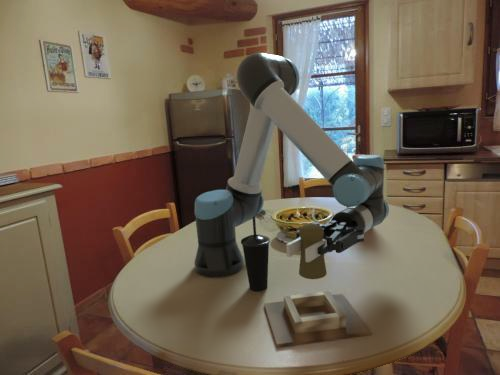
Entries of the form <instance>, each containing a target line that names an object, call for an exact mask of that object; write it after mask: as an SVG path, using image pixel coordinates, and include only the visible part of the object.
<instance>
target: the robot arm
mask: <svg viewBox="0 0 500 375" xmlns="http://www.w3.org/2000/svg"><path fill="white" fill-rule="evenodd" d="M236 82H237V86H238V88H239V91H240V92H241V94H242V95H243V96H244V98H245V99H246V100H247V101H248V102H249V103H250V105H251V106H250V110H249V114H248V118H247V122H246V126H245V130H244V133H243V134H244V135H243V138H242V142H241V146H240V150H239V155H238V157H237V158H238V159H237V162H236V166H235V170H234V174H233V176H232V177H230V178H228V179H227V184H226V188H225V189H214V190H211V191H206V192H204V193H201V194H200V195H198V196H197V197H196V198H195V200H194V211H193V212H194V218H195V226H196V236H197V244H198V245H197V246H198V247H197V251H196V255H195V259H194V271H195V272H196V274H198V276H201V277H205V278H206V277H207V278H223V277H228V276H232V275H235V274H237V273H238V272H240V271H241V270H242V269H243V267H244V257H243V255H242V251H241V250H240V248H239V245H238V242H237V238H236V236H237V233H236V228H237V227H239V226H240V225H243V224H245V223H247V222H248V221H250V220H253V217H255V218H256V217H257V216H258V215H260V214H259V213H260V211H261V210H262V209H263V207H264V200H265V199H264V196H263V193H262V191H263V187H262V185H261V183H260V181H261V178H262V175H263V171H264V168H265V164H266V160H267V158H268V153H269V150H270V146H271V143H272V140H273V137H274V136H273V135H274V131H275V128H276V127H277V128H278V129H279V130H280V131H281V132H282V134H284V135H285V137H286V138H288V140H289V141H290V142H291V143H292V144H293V145H294V146H295V147H296V149H298V151H299V152H300V153H301V154H302V155H303V156H304V157H305V158H306V159H307V160H308V161H309V162H310V163H311V165H313V167H314V168H315V169H316V170H317V172H319V173H320V175H322V177H324V178H323V179H325V180H326V181H327V182H328V183H329V185H331V186H332V192H333V193H332V194H333V197H334V198H335V201H337V203H339V205H342V206H344V207H345V208H344V209H342V210H340V211H338V212H336V213H335V214H334V215H332V216H333V217H332V218H331V220H330V221H326V222H324V224H321V223H320V222H319V221H318V220H314V221H313V222H311V224H317V225H320V226H321V227H322V228H323V231H324V236H323V239H322V240H321V241H319V242H317V243H315V244H313V245H312V246H310V247H308V248H306V249H305V260H306V262H310V261H312V260H314V259H315V258H317V257H318V256H320V255H324V256H325V255H326V254H327V253H332V252H334V251H335V252H336V253H337V254H342V252H345V251H347V249H349V248H351V247H353V246H354V245H356V244H358V243H361V242H364V241H365V233H367V232H368V231H369V230H371V229H372V228H374V227H376V226H378V225H380V224H382V223H383V221H384V220H385V219H386V218H387V217H388V216H389V213H390V207H389V204H388V202H387V201H386V200H385V199H384V181H385V180H384V179H385V166H384V165H385V164H384V158H383V157H382V156H381V155H378V154H377V155H375V154H364V155H361V156H357V157H355V159H354V162H353V159H352V158H350V157H349V155H347V153H345V151H344V150H343V149H342V148H341V147H340V146H339V145H338V144H337V143H336V142H335V141H334V140H333V139H332V138H331V137H330V136H329V135H328V133H327V132H326V131H325V130H324V129H323V128H322V127H321V126H320V125H319V124H318V123H317V122H316V121H315V120H314V118H312V117H311V116H310V115H309V114H308V113H307V112H306V110H305V109H304V108H303V107H302V106H301V105H300V104H299V103H298V102H297V101H296V100H295V99H294V98H293V97H292V96H293V94H295V92H296V91H297V89H298V88H299V83H300V74H299V69H298V67H297V65H295V63H294V62H293V61H292V60H290V59H289V58H286V57H284V56H282V55H276V54H268V53H266V52H254V53H250V54H249V55H247V56H246V57H244V58H243V59H242V60H241V62H240V63H239V65H238V67H237V70H236ZM347 207H348V208H347ZM299 231H300V229H299V230H297V231H296V233H295V234H296V236H295V237H296V238H295V239H294V240H291V241H290V242H288V243H286V244H285V245H286V257H288V258H291V257H293V256H294V255H296V254H298V253H301V247H302V240H301V238H300V235H299Z"/></svg>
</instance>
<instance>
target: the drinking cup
mask: <svg viewBox="0 0 500 375" xmlns="http://www.w3.org/2000/svg"><path fill="white" fill-rule="evenodd" d="M256 224H257V223H256V216H255V217H253V219H252V228H253V231H252V232H253V234H250V235H248V236H245V237H243V238H242V239H241V240H240V244H241V245H242V246H241V247H242V249H243V256H244V257H243V258H244V262H245V269H246V273H247V279H248V287H249V289H250V291H253V292H259V293H260V292H264V291H265V290H267V289H268V282H269V281H268V277H269V249H270V246H269V244H270V238H269V237H268V236H266V235H262V234H257V227H256Z"/></svg>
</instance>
